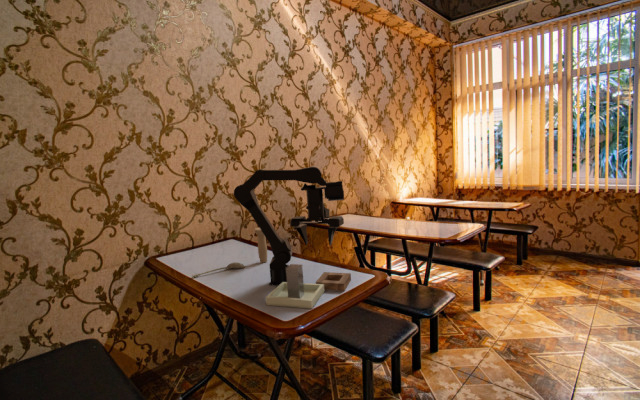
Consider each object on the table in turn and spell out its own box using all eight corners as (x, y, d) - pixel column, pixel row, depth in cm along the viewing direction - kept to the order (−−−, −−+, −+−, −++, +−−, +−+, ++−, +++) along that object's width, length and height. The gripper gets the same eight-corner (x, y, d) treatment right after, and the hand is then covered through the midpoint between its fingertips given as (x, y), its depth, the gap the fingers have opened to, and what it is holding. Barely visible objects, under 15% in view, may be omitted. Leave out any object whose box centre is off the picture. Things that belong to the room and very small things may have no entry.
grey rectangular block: (288, 298, 108) (285, 268, 107) (292, 293, 112) (290, 264, 111) (299, 299, 107) (297, 268, 106) (304, 294, 111) (302, 264, 109)
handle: (264, 259, 154) (261, 226, 152) (272, 262, 150) (269, 228, 148) (255, 261, 151) (252, 228, 149) (262, 264, 146) (259, 230, 145)
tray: (266, 305, 106) (265, 297, 105) (283, 288, 118) (282, 282, 118) (311, 308, 101) (311, 300, 101) (324, 291, 113) (324, 284, 113)
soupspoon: (247, 270, 144) (242, 267, 150) (247, 262, 144) (242, 259, 149) (194, 281, 132) (190, 277, 138) (193, 272, 132) (189, 269, 138)
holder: (315, 289, 116) (315, 282, 115) (324, 278, 125) (324, 272, 125) (344, 291, 113) (344, 283, 112) (351, 280, 122) (350, 273, 122)
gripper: (346, 198, 125) (349, 239, 127) (300, 199, 132) (303, 238, 134) (337, 202, 114) (340, 247, 116) (287, 203, 121) (291, 246, 123)
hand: (318, 244), depth 123 cm, fingers open, 9 cm apart
